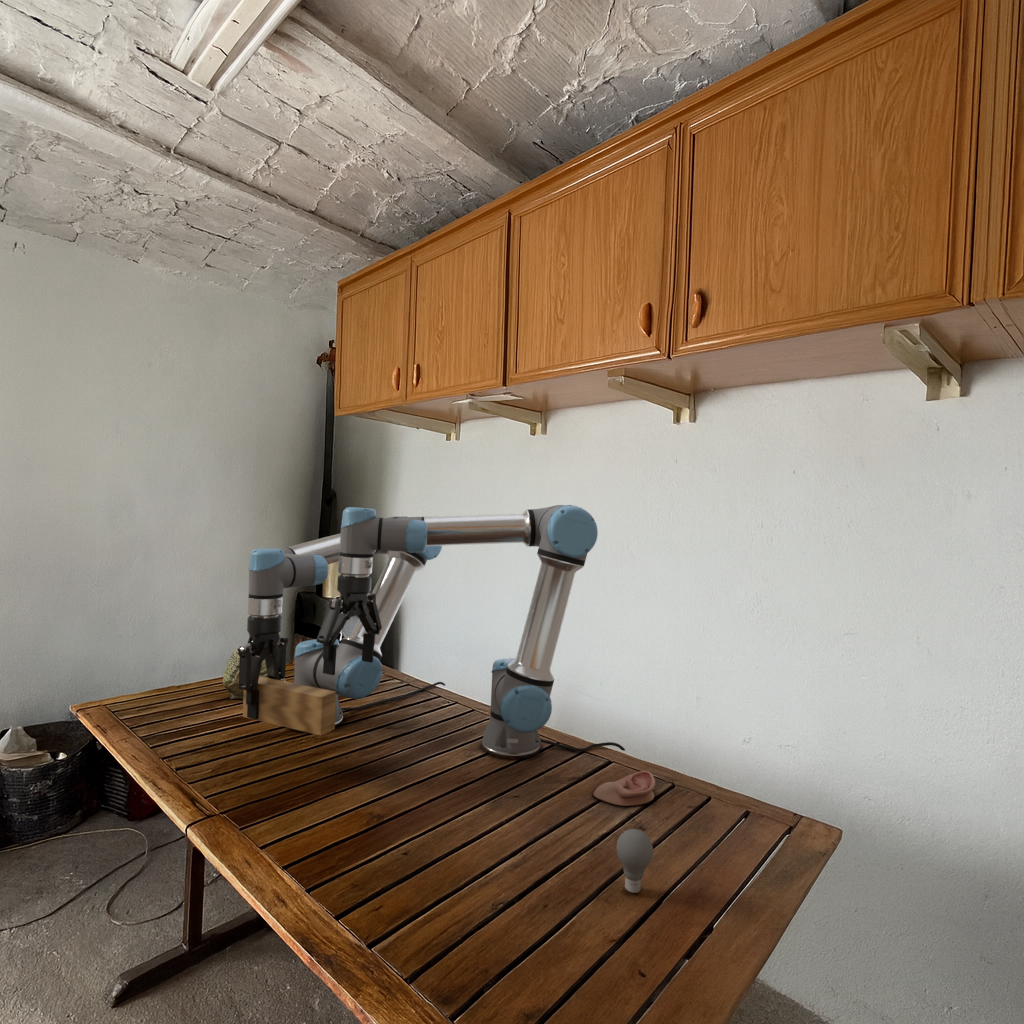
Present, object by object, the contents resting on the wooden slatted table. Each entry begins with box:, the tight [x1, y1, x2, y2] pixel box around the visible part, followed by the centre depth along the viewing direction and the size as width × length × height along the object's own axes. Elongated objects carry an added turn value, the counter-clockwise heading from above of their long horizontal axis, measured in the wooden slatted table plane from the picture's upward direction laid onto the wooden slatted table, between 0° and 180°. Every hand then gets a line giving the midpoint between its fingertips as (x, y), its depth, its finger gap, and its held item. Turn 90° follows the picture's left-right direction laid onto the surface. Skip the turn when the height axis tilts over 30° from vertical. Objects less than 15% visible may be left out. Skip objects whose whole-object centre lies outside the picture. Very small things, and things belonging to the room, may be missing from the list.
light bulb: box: [615, 828, 654, 894], centre depth 106 cm, size 6×6×10 cm
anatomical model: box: [593, 770, 656, 807], centre depth 141 cm, size 13×4×12 cm
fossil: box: [222, 647, 287, 699], centre depth 198 cm, size 9×18×15 cm, turn 132°
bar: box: [242, 676, 336, 736], centre depth 145 cm, size 23×4×8 cm, turn 66°
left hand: (261, 714), depth 148 cm, fingers closed on bar, 5 cm apart
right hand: (348, 667), depth 145 cm, fingers open, 13 cm apart
